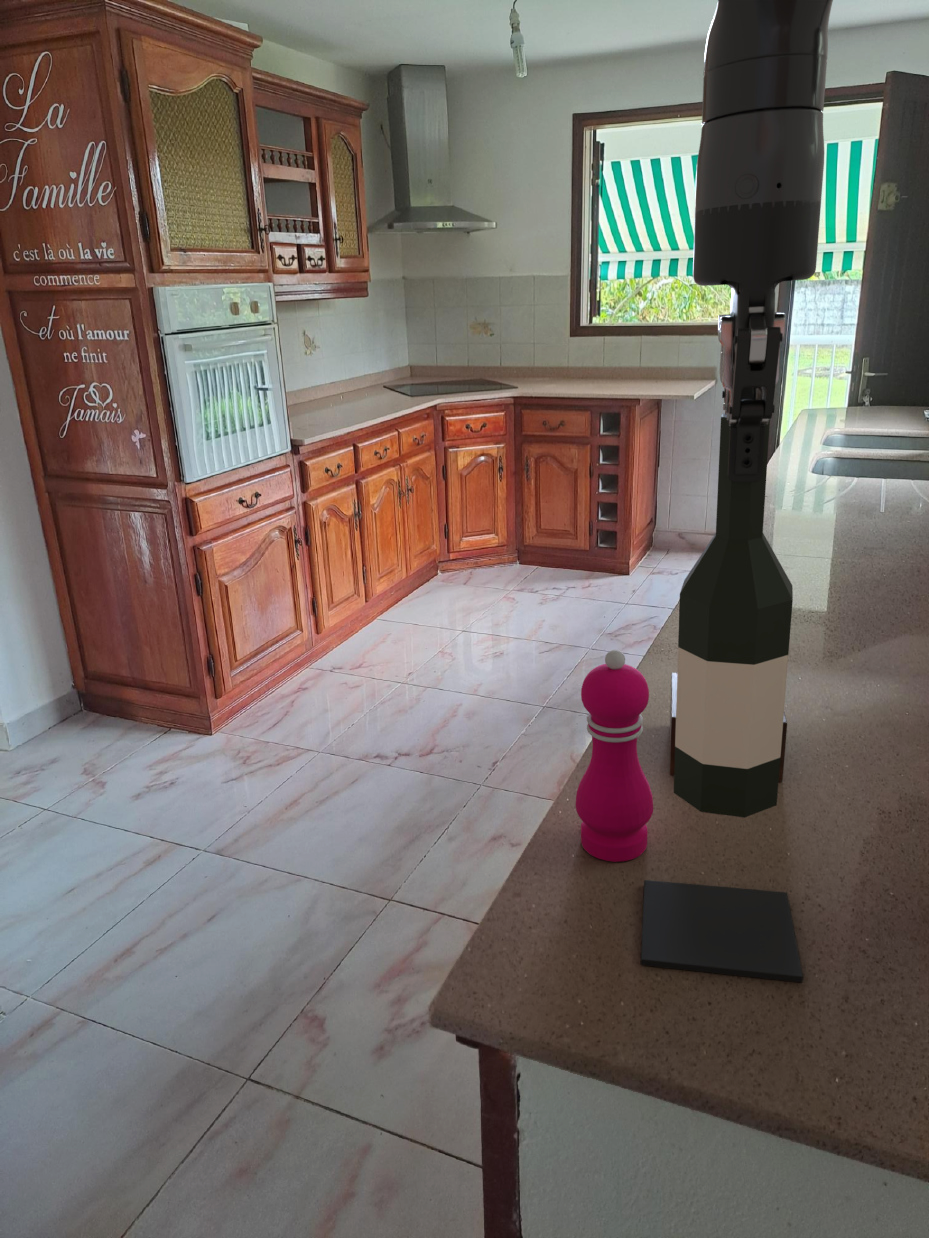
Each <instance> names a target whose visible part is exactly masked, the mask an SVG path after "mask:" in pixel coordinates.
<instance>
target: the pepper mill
mask: <svg viewBox="0 0 929 1238" xmlns="http://www.w3.org/2000/svg"><path fill="white" fill-rule="evenodd" d="M581 684H582V685H581V689H580V698H581V703H582V705H583V707H584V709H585V710H586V711H587V716H586V722H587V724H586V731H587V733H588V734H589V735H590V736H591V740H592V748H591V758H590V761H589V764H588V766H587V768H586V769H585V772H584V774H583V775H582V778H581V779H580V781H579V784H578V787H577V790H576V796H575V811H576V814H577V815H578V817H579V819H580V820H581V821H582V822H581V825H580V842H581V845H582V848H583V849H584V851H585V852H587V853H588V854H589V855H590V856H592V857H594V858H596V859H598V860H602V861H604V862H612V863H617V862H618V863H621V862H628V861H631V860H634V859H636V858H639V857H640V856H641V855H643V854H644V852H645V851H646V850H647V847H648V826H647V823H648V822H650V819H651V818H652V817H653V813H654V797H653V792H652V789H651V786H650V782H649V780H648V779H647V777H646V774H645V772H644V770H643V768H642V766H641V763H640V759H639V756H638V738H639V737H640V736H641V735H642V733H643V729H644V728H643V722H644V718H643V715H642V713H643V712H644V711H645V709H646V708H647V706H648V704H649V699H650V690H649V684H648V682H647V679H646V678H645V676H644V674H642V672H641V671H640V670H638V669H637V668H635V667H633V666H632V665H629V664H626V657H625V654H624V653H623V652H622V651H621V650H618V649H612V650H609V651H608V652H607V653H606V654H605V656H604V663H603V664H600V665H597V666H596V667H594V668H592V669H591V670H590V671H589V672H588V673H587V675H586V676H585V677H584V679H583V681H582V683H581Z"/></svg>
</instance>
